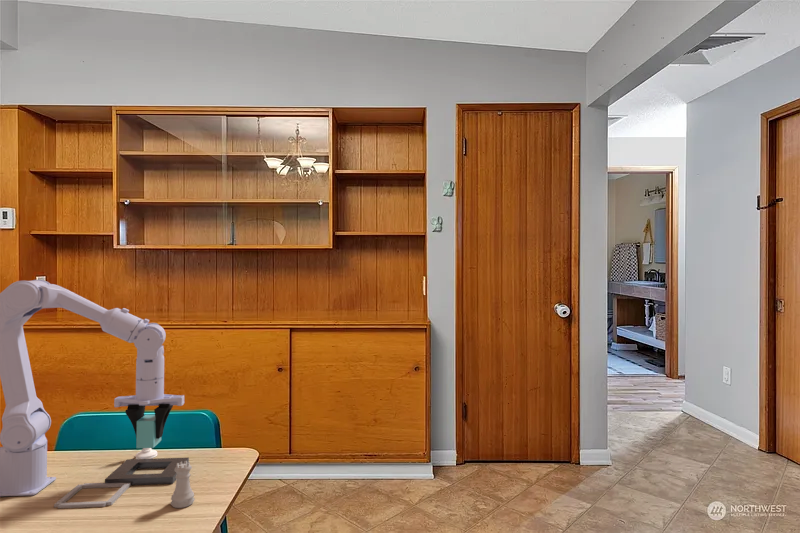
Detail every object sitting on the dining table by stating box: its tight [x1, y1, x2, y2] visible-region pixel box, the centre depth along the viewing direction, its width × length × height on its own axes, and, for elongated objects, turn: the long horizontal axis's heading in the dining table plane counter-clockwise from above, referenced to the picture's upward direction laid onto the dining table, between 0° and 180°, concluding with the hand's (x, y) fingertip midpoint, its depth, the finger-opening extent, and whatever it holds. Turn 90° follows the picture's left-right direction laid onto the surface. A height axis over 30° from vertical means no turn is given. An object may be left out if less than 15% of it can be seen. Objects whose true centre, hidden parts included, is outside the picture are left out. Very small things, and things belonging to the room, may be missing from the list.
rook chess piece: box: [170, 461, 195, 509], centre depth 99 cm, size 4×4×8 cm
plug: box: [136, 414, 162, 449], centre depth 112 cm, size 4×5×6 cm
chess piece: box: [135, 448, 158, 459], centre depth 123 cm, size 5×5×10 cm
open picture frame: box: [53, 482, 132, 509], centre depth 101 cm, size 11×10×1 cm
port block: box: [104, 457, 190, 486], centre depth 112 cm, size 14×11×2 cm
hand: (149, 437), depth 112 cm, fingers closed on plug, 4 cm apart
